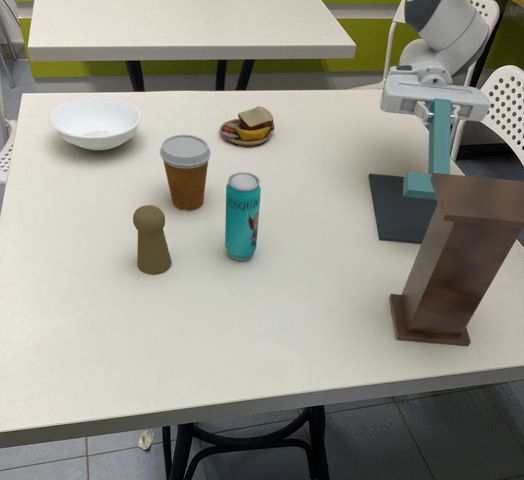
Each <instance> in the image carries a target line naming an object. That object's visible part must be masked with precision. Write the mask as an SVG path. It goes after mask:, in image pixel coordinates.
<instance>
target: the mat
mask: <svg viewBox="0 0 524 480" xmlns="http://www.w3.org/2000/svg"><path fill="white" fill-rule="evenodd" d="M404 177H405V176H402V175H390V174H379V173H378V174H377V173H370V172H369V173H368V181H369V187H370V193H371V198H372V204H373V211H374V217H375V223H376V228H377V234H378V235H377V236H378V239H379V241H386V242H388V241H389V242H399V243H409V244H410V243H411V244H422V242H423V239H424V237H425V234H426V232H427V229H428V226H429V224H430V221H431V219H432V216H433V214H434V211H435V209H436V206H437V204H438V202H437V200H435V199H424V198H414V197H403V181H404Z"/></svg>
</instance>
